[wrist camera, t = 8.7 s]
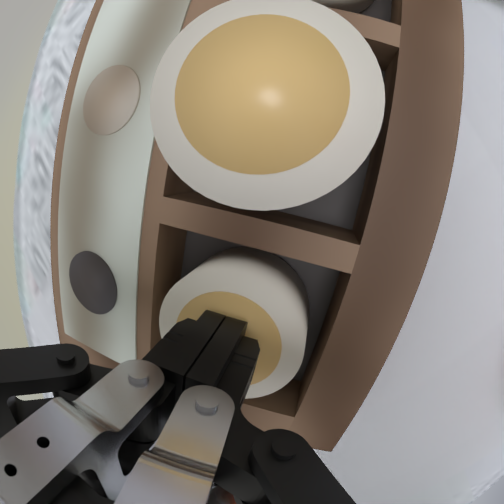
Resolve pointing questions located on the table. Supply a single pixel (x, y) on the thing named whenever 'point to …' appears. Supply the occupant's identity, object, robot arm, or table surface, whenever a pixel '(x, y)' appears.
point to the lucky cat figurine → (220, 496)
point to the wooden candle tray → (253, 221)
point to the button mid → (267, 103)
